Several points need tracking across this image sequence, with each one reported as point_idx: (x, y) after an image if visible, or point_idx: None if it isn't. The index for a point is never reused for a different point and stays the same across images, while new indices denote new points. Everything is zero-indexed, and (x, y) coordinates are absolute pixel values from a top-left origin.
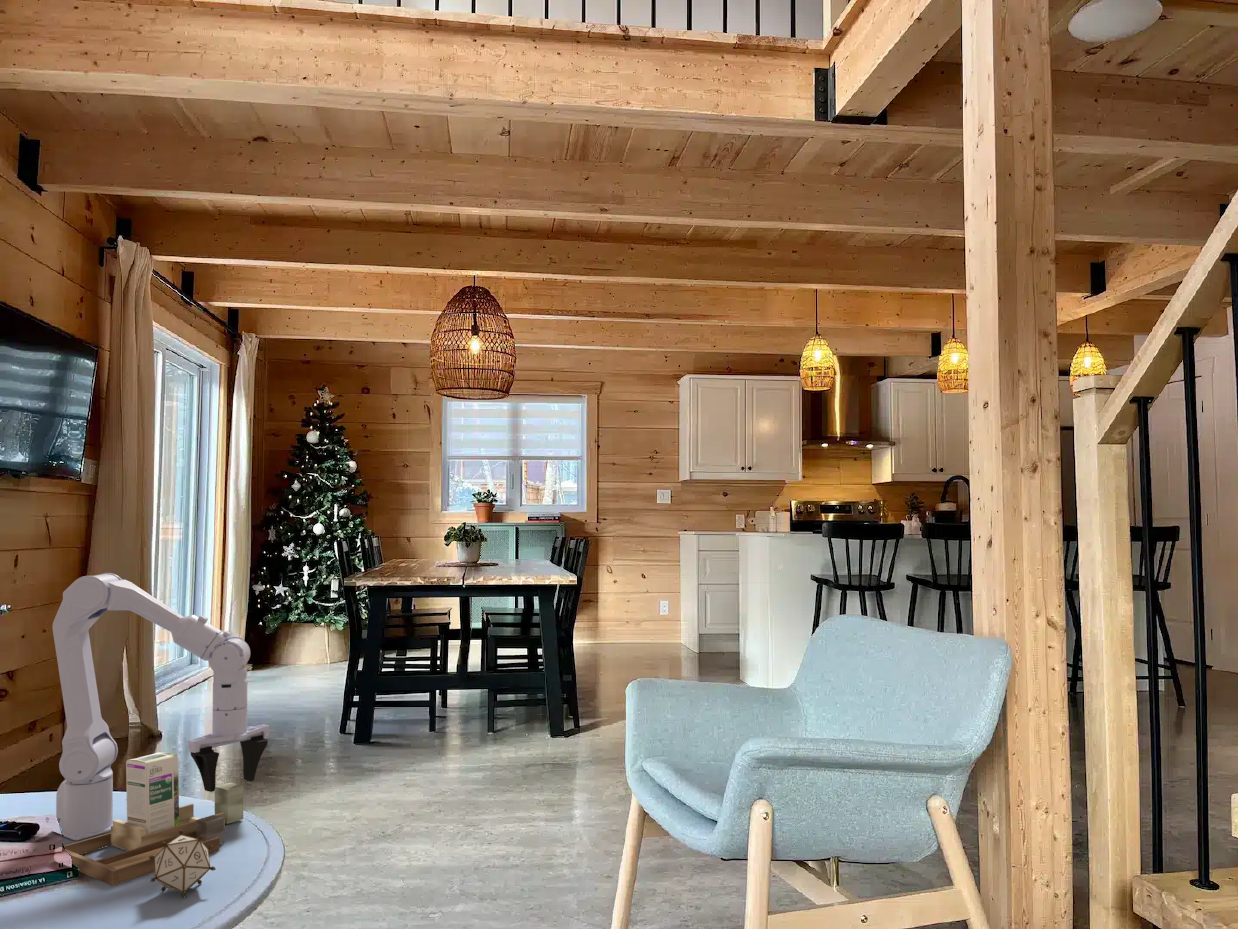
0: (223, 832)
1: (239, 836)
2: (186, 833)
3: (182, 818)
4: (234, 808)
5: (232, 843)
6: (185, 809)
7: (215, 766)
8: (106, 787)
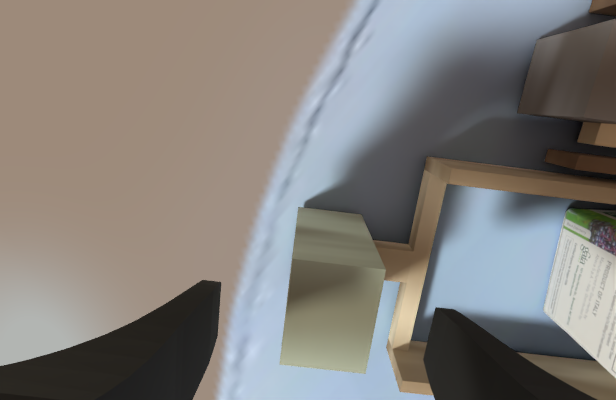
0: (565, 32)
1: (434, 69)
2: (614, 171)
3: None
4: (338, 227)
5: (507, 23)
6: None
7: (536, 390)
8: None
